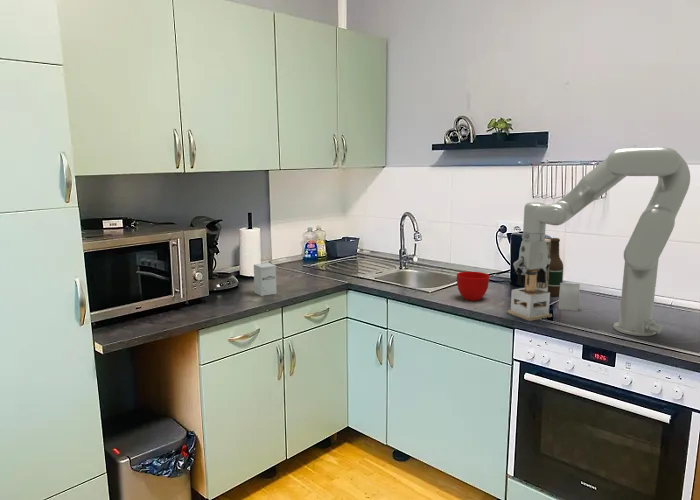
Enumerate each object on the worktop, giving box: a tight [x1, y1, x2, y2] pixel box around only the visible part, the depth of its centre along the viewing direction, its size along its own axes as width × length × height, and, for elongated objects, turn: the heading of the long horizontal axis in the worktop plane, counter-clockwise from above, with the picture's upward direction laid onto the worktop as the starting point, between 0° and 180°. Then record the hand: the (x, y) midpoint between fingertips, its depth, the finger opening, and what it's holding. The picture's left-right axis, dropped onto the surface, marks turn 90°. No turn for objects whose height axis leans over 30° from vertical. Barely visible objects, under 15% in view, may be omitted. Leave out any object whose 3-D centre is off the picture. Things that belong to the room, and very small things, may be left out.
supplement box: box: [253, 262, 278, 297], centre depth 222 cm, size 7×7×13 cm
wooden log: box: [536, 237, 552, 292], centre depth 208 cm, size 7×7×25 cm
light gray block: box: [558, 282, 581, 312], centre depth 198 cm, size 4×7×10 cm, turn 71°
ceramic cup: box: [456, 271, 490, 302], centre depth 214 cm, size 13×17×10 cm
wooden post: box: [524, 269, 537, 307], centre depth 189 cm, size 4×4×18 cm
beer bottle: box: [548, 237, 564, 298], centre depth 217 cm, size 8×8×24 cm
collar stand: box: [506, 287, 553, 322], centre depth 190 cm, size 11×11×9 cm
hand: (531, 283), depth 189 cm, fingers open, 9 cm apart
